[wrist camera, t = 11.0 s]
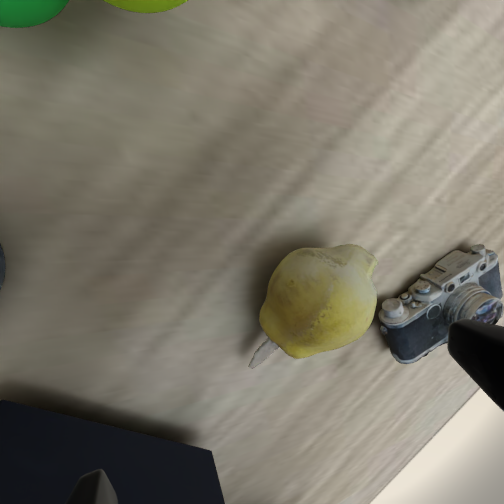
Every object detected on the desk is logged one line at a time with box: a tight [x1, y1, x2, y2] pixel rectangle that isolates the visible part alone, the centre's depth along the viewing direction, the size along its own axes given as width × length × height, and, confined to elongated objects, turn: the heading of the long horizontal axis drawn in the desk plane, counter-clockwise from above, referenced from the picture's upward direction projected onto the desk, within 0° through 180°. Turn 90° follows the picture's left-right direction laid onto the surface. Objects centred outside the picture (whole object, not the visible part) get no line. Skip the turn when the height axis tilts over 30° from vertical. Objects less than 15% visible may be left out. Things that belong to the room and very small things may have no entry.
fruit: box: [248, 244, 378, 368], centre depth 20 cm, size 6×6×10 cm
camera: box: [378, 244, 504, 364], centre depth 24 cm, size 5×10×4 cm, turn 116°
